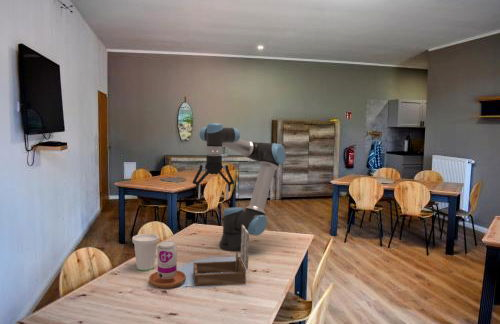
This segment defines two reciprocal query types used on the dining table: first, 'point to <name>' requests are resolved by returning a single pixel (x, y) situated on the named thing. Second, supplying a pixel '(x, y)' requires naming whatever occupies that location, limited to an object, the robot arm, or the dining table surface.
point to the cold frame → (224, 267)
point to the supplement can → (167, 259)
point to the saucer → (167, 280)
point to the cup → (145, 250)
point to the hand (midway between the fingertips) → (213, 198)
